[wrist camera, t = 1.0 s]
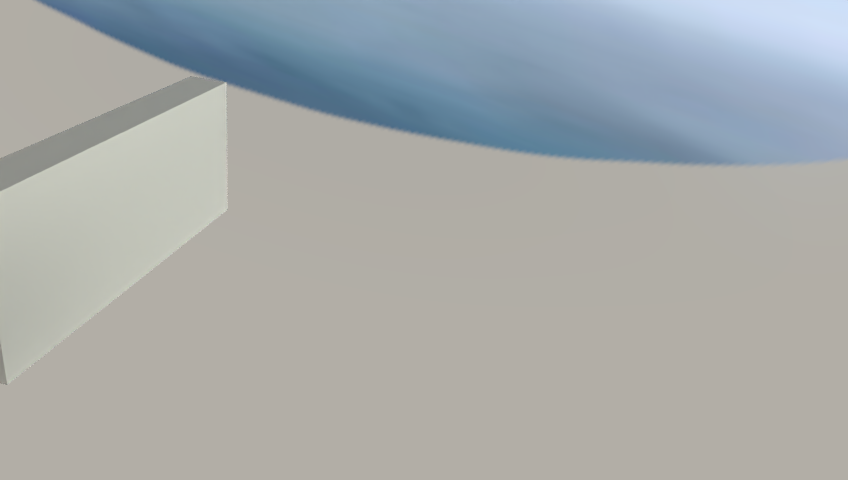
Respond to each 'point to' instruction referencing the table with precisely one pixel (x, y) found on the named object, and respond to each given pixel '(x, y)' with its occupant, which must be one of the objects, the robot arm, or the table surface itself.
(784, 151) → the table surface
